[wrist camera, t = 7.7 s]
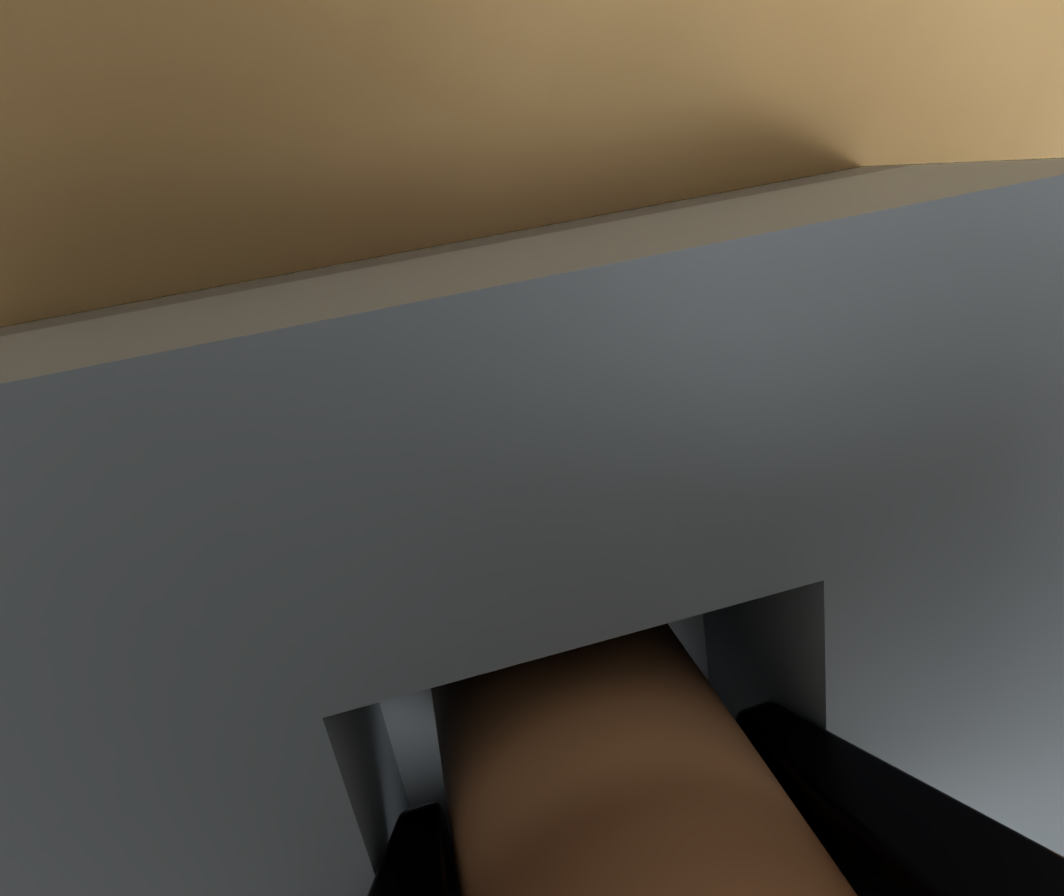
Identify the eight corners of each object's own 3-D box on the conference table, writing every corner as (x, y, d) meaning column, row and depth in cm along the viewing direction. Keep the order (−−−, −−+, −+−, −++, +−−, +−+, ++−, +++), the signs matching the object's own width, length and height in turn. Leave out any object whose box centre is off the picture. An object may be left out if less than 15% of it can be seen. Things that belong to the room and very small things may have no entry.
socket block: (864, 166, 10) (1170, 152, 6) (860, 786, 14) (1043, 1006, 10) (-25, 331, 8) (-342, 451, 4) (263, 979, 12) (220, 1324, 8)
